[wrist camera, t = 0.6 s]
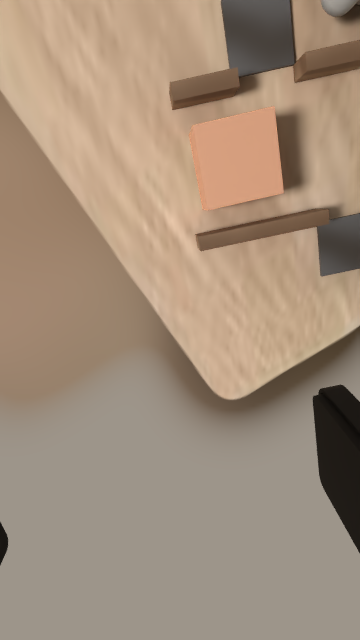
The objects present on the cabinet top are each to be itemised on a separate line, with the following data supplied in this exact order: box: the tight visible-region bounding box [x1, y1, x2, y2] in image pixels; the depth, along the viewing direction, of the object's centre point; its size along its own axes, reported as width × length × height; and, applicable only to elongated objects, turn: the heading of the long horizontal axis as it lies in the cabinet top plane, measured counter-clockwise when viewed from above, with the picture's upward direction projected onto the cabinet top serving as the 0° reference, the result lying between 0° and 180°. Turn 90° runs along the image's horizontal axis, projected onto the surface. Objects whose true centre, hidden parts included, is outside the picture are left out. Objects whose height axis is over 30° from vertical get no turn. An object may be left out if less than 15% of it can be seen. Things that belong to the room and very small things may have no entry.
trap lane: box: [169, 0, 360, 276], centre depth 28 cm, size 22×22×2 cm
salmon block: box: [189, 106, 284, 210], centre depth 27 cm, size 6×6×4 cm
